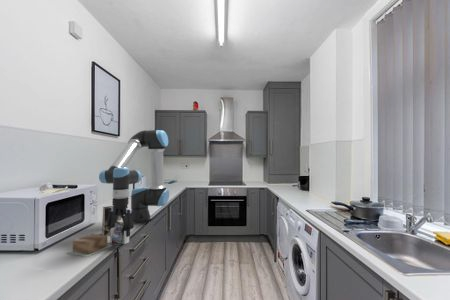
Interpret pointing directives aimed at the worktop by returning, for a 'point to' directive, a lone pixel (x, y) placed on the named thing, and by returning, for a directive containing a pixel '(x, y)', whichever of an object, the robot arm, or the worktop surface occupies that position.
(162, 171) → the robot arm
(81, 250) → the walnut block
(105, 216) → the coffee box
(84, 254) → the build pad
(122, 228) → the beverage can
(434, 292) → the worktop surface
